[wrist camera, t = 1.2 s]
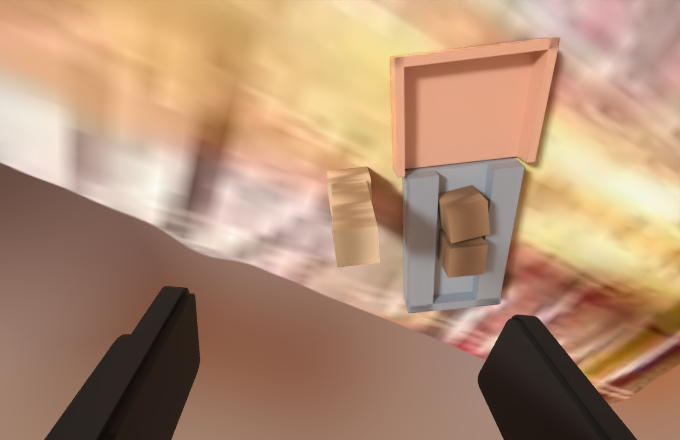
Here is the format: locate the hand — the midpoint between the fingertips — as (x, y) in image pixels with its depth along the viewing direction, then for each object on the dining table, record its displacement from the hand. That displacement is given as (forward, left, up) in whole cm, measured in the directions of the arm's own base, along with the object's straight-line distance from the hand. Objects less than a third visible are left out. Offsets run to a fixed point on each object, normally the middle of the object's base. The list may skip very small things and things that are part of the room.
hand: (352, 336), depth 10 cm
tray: (-13, 0, -26) cm, 29 cm away
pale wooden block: (-1, +6, -26) cm, 27 cm away
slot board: (-13, +15, -26) cm, 33 cm away
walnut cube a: (-13, +15, -25) cm, 32 cm away
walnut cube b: (-12, +10, -25) cm, 30 cm away
